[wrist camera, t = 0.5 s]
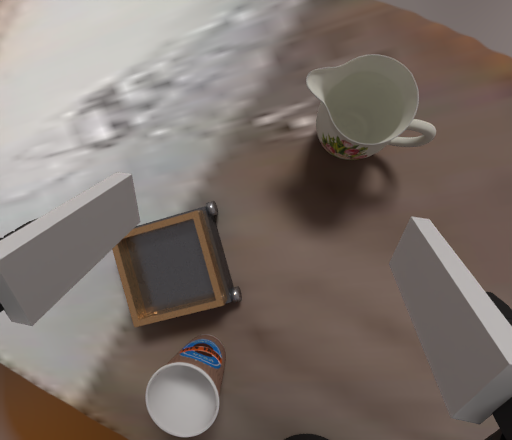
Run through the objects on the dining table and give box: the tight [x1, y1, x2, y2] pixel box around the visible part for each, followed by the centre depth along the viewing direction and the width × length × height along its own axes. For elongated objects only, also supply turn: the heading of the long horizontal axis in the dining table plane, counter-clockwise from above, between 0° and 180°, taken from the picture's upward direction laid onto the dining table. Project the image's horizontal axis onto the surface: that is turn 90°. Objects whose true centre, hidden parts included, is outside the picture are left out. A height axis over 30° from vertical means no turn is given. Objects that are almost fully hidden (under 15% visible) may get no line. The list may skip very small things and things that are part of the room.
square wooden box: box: [112, 201, 242, 327], centre depth 44 cm, size 17×17×6 cm
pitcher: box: [306, 55, 436, 160], centre depth 36 cm, size 11×18×14 cm, turn 70°
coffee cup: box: [146, 334, 226, 437], centre depth 41 cm, size 10×10×12 cm
